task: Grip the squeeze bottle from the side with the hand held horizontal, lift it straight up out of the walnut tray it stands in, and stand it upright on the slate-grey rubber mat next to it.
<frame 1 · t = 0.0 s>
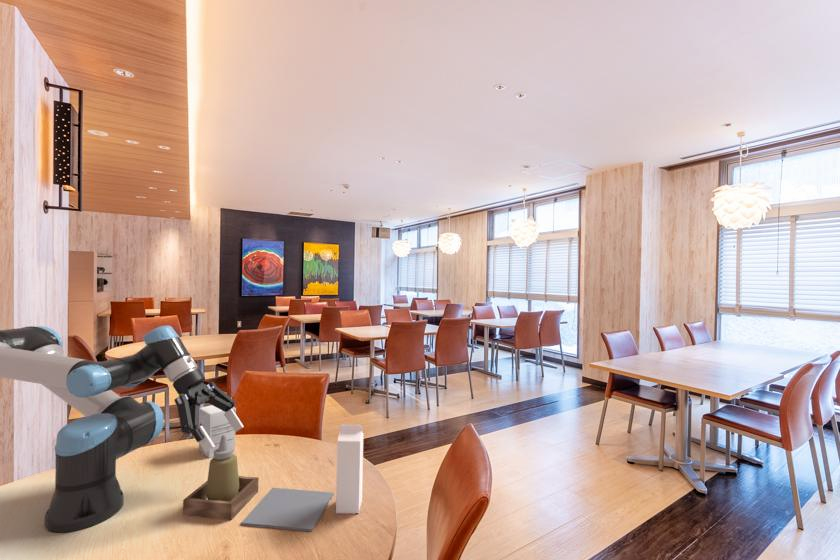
hand: (226, 439, 108), 15 cm above the table, tool tilted 35°, fingers open, 13 cm apart
squeeze bottle: (222, 503, 104), resting in walnut tray
slate mat: (290, 508, 102), on the table
supplement box: (216, 450, 135), on the table
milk: (349, 507, 103), on the table
walnut tray: (222, 503, 104), on the table
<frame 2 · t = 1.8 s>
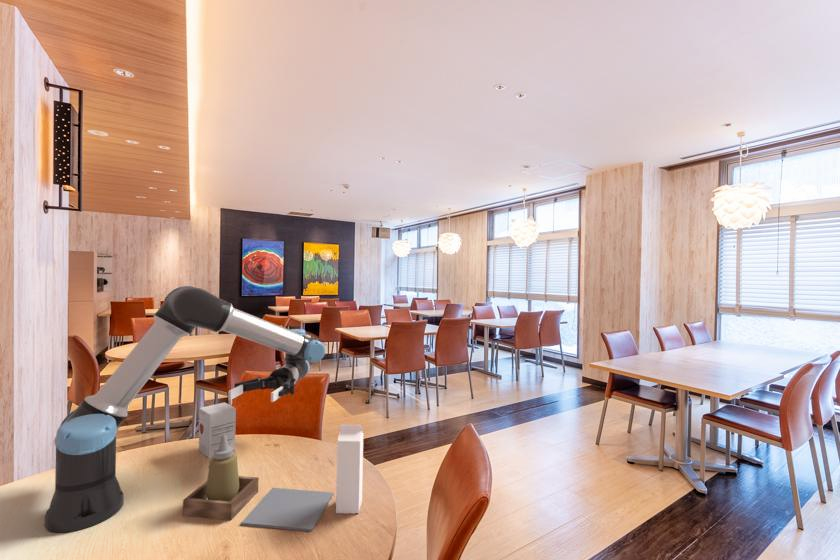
hand: (250, 396, 117), 25 cm above the table, tool horizontal, fingers open, 13 cm apart
nothing on the table moved.
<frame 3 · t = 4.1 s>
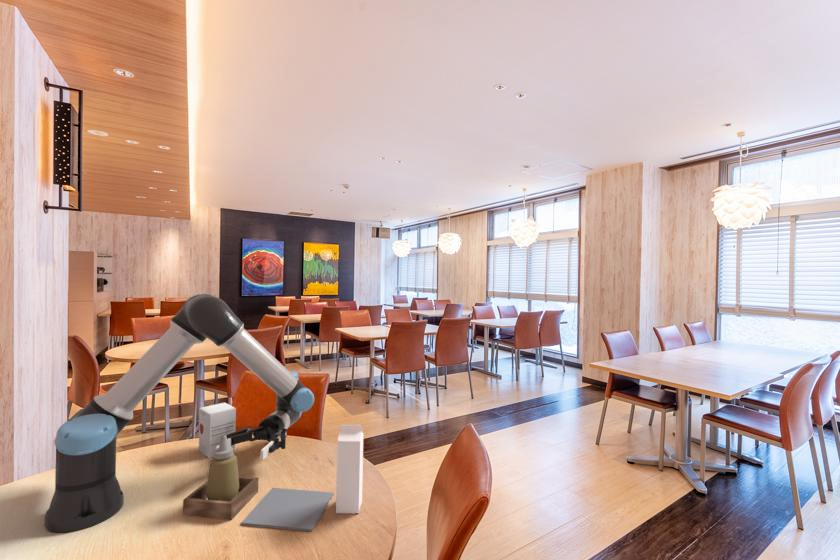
hand: (238, 453, 110), 10 cm above the table, tool horizontal, fingers open, 13 cm apart
nothing on the table moved.
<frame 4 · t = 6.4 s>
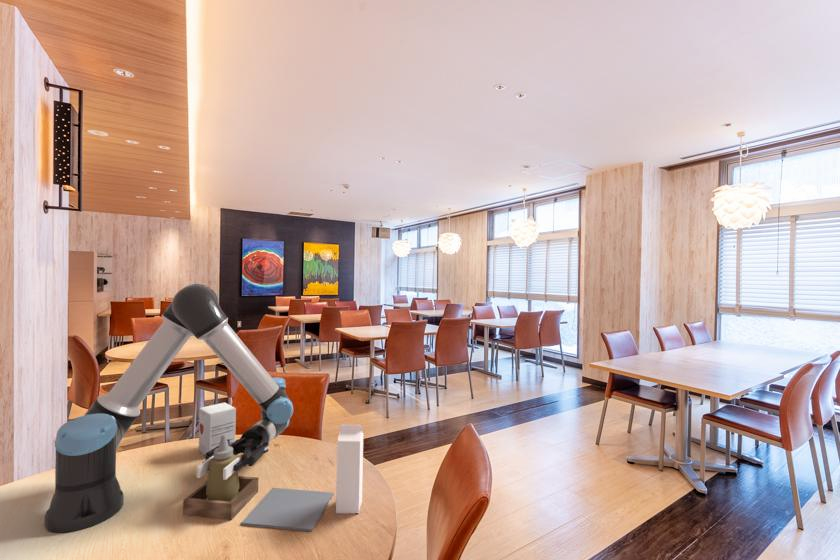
hand: (211, 473, 99), 11 cm above the table, tool horizontal, fingers closed on squeeze bottle, 6 cm apart
squeeze bottle: (222, 503, 104), resting in walnut tray, touching gripper
everything else where it was.
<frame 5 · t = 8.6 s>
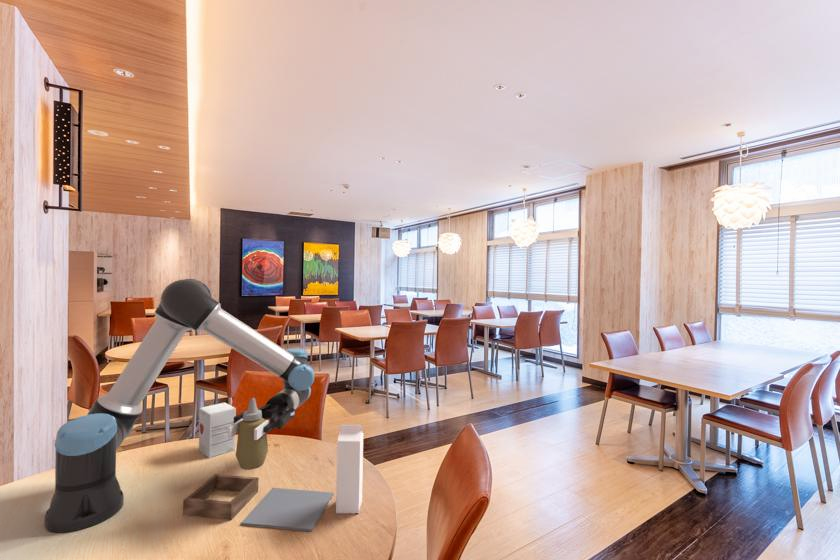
hand: (242, 433, 99), 21 cm above the table, tool horizontal, fingers closed on squeeze bottle, 6 cm apart
squeeze bottle: (251, 466, 104), point 10 cm above the table, touching gripper
everything else where it was.
when the fingers open (13 cm above the table, at t = 11.1 s): squeeze bottle drops 1 cm, resting on slate mat.
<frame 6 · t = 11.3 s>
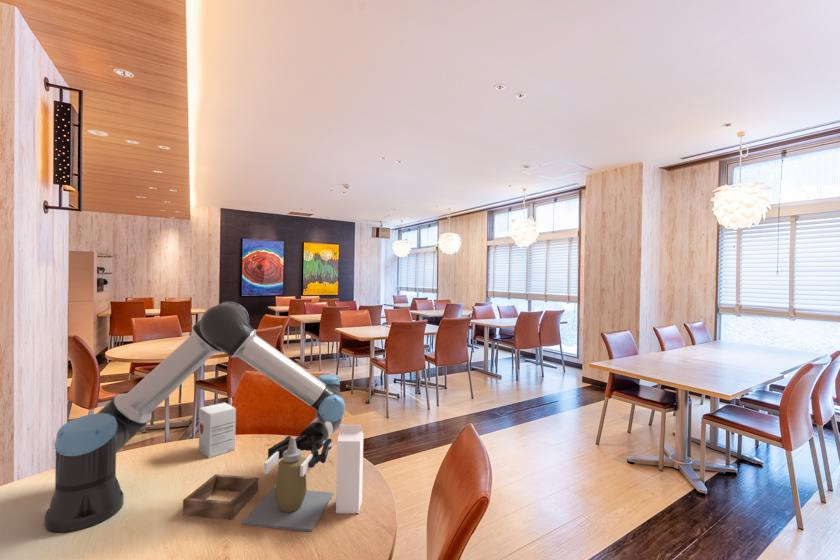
hand: (283, 469, 97), 13 cm above the table, tool horizontal, fingers open, 9 cm apart
squeeze bottle: (290, 506, 102), resting on slate mat
everything else where it was.
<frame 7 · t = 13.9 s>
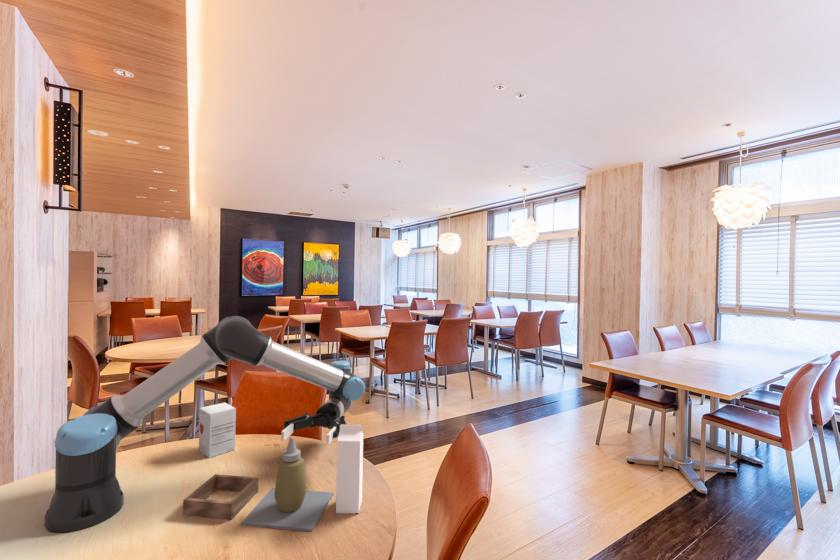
hand: (304, 438, 112), 14 cm above the table, tool horizontal, fingers open, 13 cm apart
nothing on the table moved.
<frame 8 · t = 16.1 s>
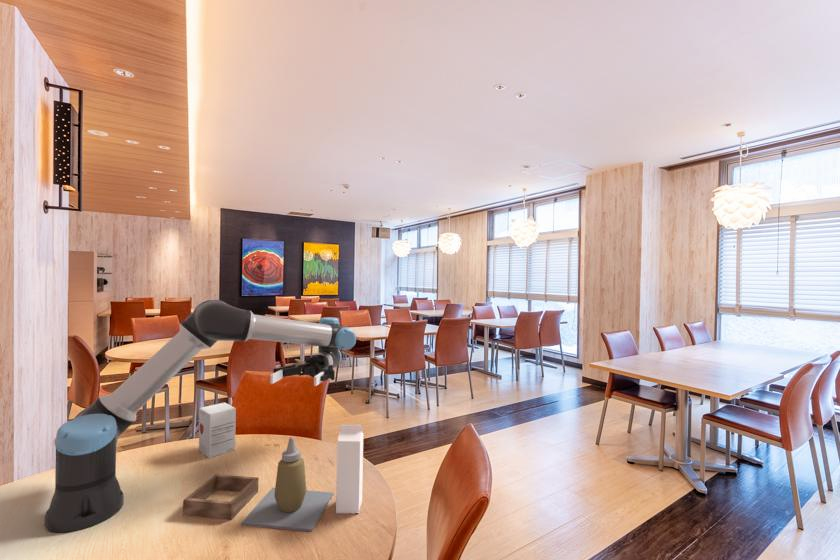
hand: (293, 380, 116), 30 cm above the table, tool horizontal, fingers open, 13 cm apart
nothing on the table moved.
at the end: squeeze bottle inside the target area on the slate mat (0.1 cm from its centre), point 0.4 cm above the slate mat's base; squeeze bottle tilted 0°; the gripper is holding nothing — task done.
